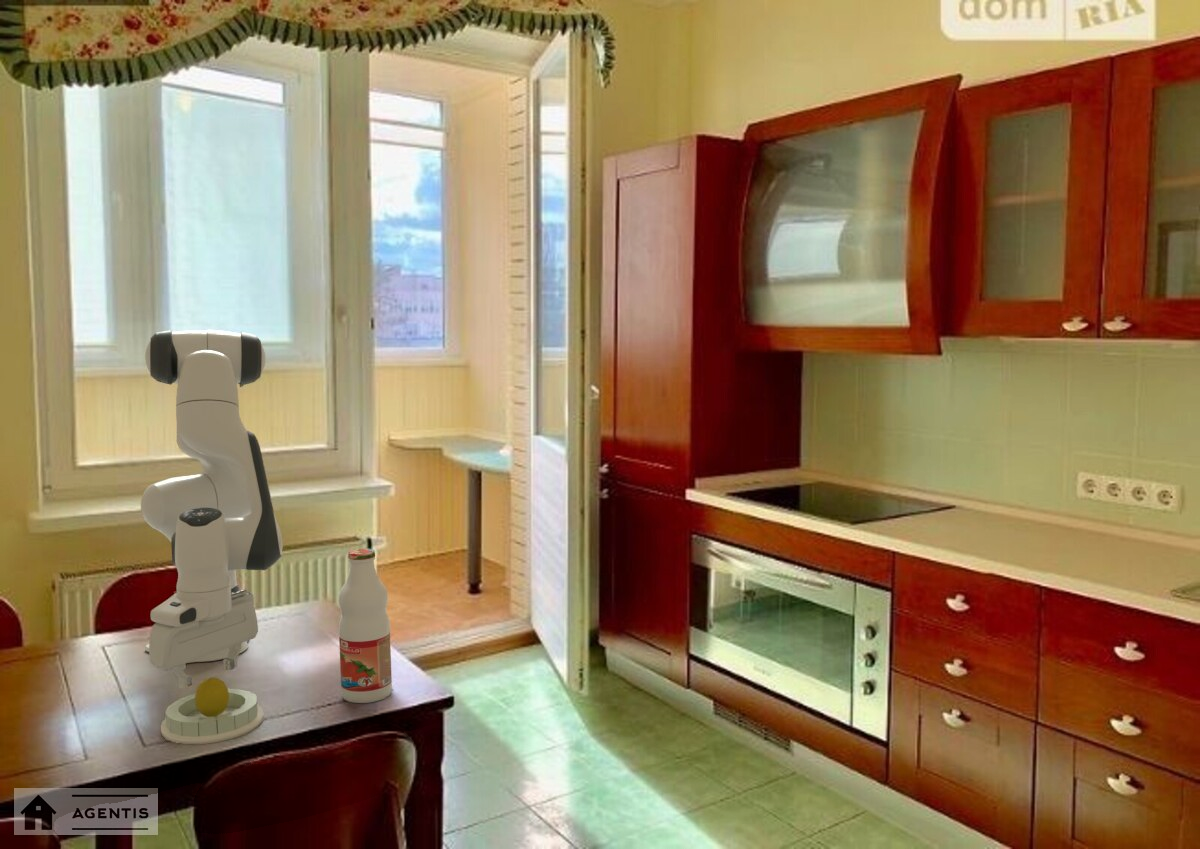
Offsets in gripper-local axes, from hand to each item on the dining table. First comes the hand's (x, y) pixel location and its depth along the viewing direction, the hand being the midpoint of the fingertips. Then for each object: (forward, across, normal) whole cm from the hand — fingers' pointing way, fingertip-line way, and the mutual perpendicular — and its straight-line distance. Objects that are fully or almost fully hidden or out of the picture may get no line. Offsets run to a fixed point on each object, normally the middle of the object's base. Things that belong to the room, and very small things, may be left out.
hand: (208, 677), depth 172 cm
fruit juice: (+8, -23, +16) cm, 29 cm away
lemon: (+7, 0, +1) cm, 7 cm away
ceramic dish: (+8, 0, +1) cm, 8 cm away
